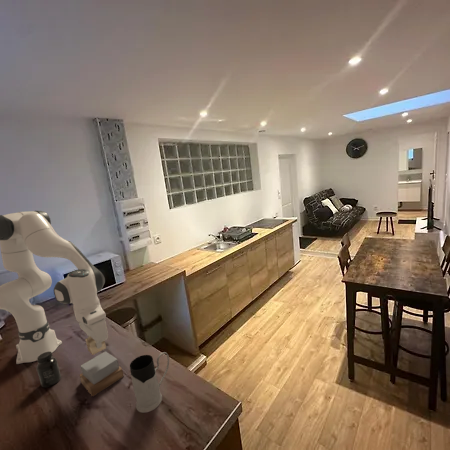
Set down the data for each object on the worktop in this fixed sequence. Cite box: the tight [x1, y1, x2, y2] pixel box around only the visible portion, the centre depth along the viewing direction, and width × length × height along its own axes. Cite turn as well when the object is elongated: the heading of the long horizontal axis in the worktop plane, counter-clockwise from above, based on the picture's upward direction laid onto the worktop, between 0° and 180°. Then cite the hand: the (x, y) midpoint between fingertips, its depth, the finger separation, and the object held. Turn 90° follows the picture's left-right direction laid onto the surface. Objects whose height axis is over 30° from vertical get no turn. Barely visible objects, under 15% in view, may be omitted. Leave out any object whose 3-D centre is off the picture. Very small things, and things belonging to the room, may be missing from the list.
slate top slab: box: [80, 350, 120, 385], centre depth 102 cm, size 10×10×4 cm
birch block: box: [85, 337, 107, 356], centre depth 100 cm, size 5×5×5 cm
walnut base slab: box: [78, 365, 125, 397], centre depth 102 cm, size 12×12×4 cm
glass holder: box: [129, 351, 170, 413], centre depth 89 cm, size 9×14×15 cm, turn 135°
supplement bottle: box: [36, 352, 62, 388], centre depth 104 cm, size 7×7×12 cm
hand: (96, 344), depth 100 cm, fingers closed on birch block, 5 cm apart
